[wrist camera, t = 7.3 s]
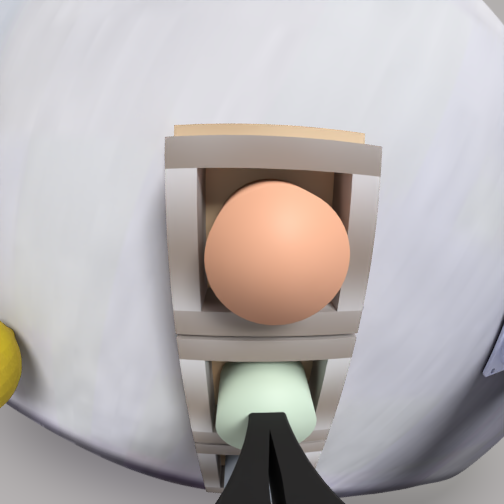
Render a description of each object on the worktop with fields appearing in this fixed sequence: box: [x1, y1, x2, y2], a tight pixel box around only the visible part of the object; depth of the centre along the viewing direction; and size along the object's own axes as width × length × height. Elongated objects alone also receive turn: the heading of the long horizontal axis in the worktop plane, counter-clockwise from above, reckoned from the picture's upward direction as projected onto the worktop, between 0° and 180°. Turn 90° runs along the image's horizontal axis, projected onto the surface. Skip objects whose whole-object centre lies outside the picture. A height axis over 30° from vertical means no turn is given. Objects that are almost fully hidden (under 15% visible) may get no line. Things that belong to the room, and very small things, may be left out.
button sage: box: [216, 361, 317, 449], centre depth 11 cm, size 4×4×3 cm
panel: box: [165, 124, 382, 493], centre depth 13 cm, size 22×7×3 cm, turn 179°
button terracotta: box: [204, 179, 350, 325], centre depth 9 cm, size 4×4×3 cm
